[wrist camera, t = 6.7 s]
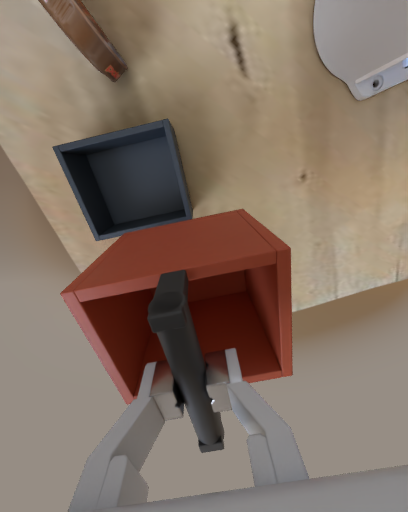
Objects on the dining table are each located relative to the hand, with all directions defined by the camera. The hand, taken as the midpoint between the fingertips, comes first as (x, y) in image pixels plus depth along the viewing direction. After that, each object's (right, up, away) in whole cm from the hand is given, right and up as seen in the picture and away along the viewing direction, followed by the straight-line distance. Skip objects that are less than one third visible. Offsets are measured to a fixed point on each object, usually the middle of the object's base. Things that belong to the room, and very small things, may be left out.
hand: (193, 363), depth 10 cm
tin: (-14, +33, +14) cm, 39 cm away
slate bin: (-9, +17, +22) cm, 29 cm away
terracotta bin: (-1, +4, +10) cm, 11 cm away
